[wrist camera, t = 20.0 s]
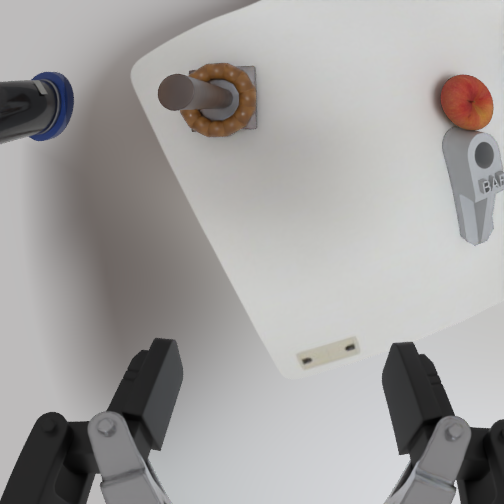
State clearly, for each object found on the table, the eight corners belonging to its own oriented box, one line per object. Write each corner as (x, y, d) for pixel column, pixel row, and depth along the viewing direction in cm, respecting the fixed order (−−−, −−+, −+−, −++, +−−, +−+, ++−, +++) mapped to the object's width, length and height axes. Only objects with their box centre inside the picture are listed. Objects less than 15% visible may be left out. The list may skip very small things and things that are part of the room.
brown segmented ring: (183, 137, 37) (178, 138, 35) (181, 67, 33) (177, 65, 31) (256, 136, 36) (255, 137, 35) (256, 63, 32) (255, 61, 31)
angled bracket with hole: (461, 243, 41) (486, 267, 34) (437, 133, 35) (467, 141, 28) (487, 231, 40) (514, 253, 33) (467, 122, 33) (499, 129, 26)
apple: (474, 126, 33) (506, 134, 26) (433, 127, 35) (463, 134, 27) (468, 77, 30) (500, 76, 23) (426, 75, 32) (456, 71, 24)
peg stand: (194, 130, 38) (127, 153, 21) (192, 71, 35) (121, 48, 17) (256, 128, 37) (237, 145, 20) (255, 67, 34) (233, 31, 16)
